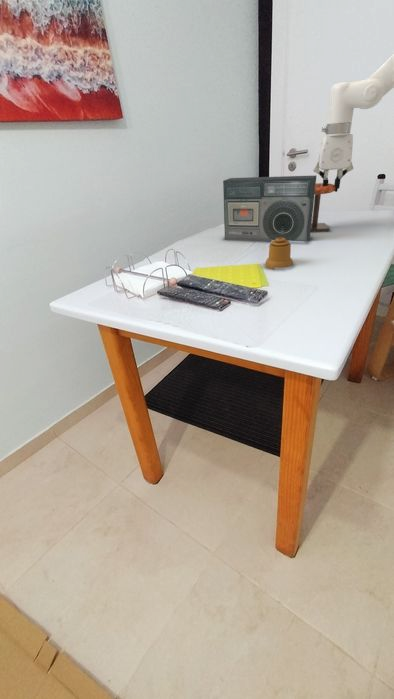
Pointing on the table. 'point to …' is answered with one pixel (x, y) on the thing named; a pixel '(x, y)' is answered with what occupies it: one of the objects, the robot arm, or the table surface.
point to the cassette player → (268, 208)
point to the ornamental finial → (279, 254)
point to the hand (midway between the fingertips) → (330, 190)
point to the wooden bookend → (315, 225)
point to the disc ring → (324, 188)
